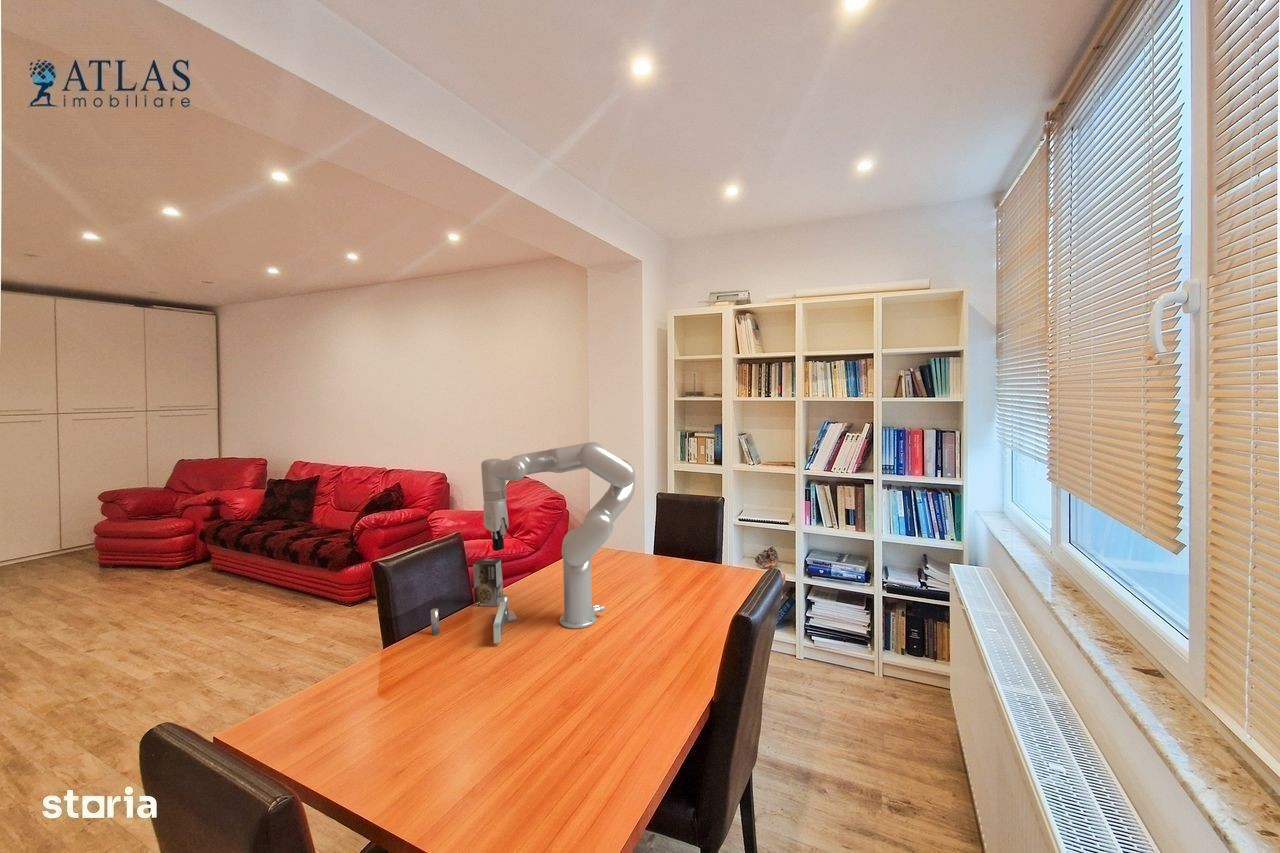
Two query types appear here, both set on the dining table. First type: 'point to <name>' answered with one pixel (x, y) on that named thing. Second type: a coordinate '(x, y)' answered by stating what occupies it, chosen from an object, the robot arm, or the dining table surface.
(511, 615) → the grey post with base
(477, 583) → the coffee box
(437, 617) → the post
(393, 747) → the dining table surface
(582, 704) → the dining table surface
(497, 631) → the gate
